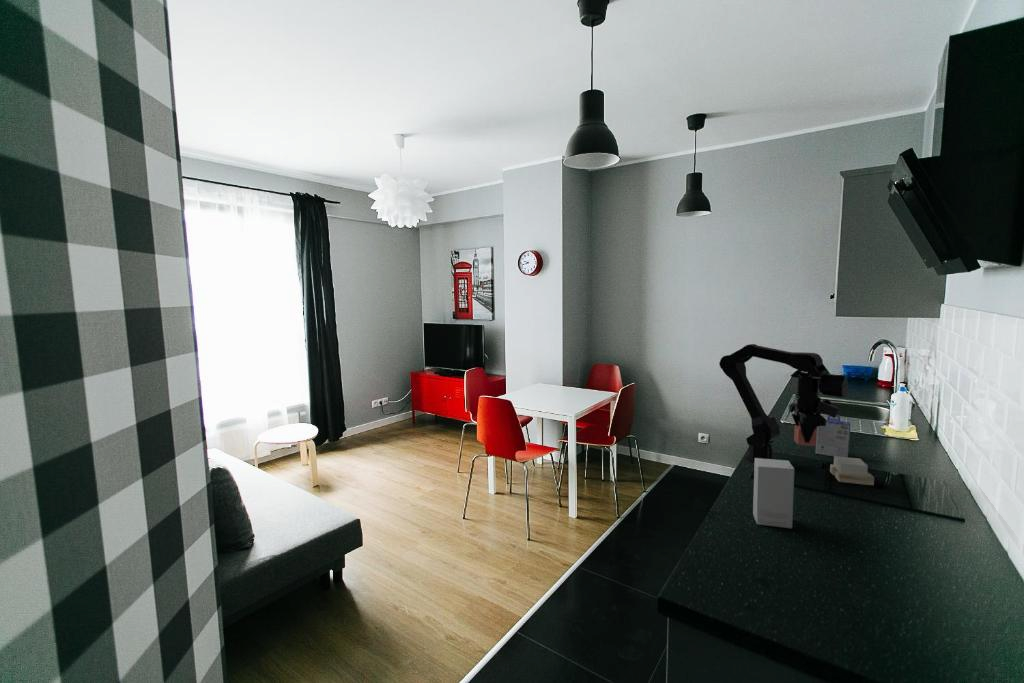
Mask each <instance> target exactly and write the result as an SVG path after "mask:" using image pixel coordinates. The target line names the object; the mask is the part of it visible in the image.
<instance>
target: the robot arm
mask: <svg viewBox="0 0 1024 683" xmlns="http://www.w3.org/2000/svg"><path fill="white" fill-rule="evenodd" d="M752 358H757V359H763V360H767V361H771V362H772V361H773V362H776V363H781V364H785V365H787V366H789V367H790V368H792V369H795V372H794V373H791V374H790V377H791V378H797V390H796V392H797V393H795V398H796V402H791V403H790V404H789V405H788V412H789V413H790V414H791V417H792V419H793V422H794V425H797V426H800V429H801V432H802V435H803V438H804V440H805V442H806V443H809V442H810V439H811V437H812V435H813V432H814V430H816V429H817V427H818V426H826V420H827V419H826V418H825V417H824V416H823V415H822V413H823V414H824V415H827V416H828V415H830V418H835V419H836V418H837V417H836V415H838V414H839V412H840V408H839V407H837V406H836V405H834V404H832V401H831V400H829V399H827V398H823V399H821V397H820V396H819V392H820V393H821V394H822V395H824V396H830V397H837V398H843V399H845V398H847V396H848V393H849V389H850V385H849V381H848V379H847V377H848V376H847V375H846V374H832V373H830V371H829V369H827V367H826V366H825V365H824V363H823V358H822V357H821V355H820V354H819V353H816V352H791V351H786V350H781V349H776V348H772V347H766V346H763V345H758V344H756V343H752V344H751V343H750V344H746V345H744V346H743V347H741V348H740V349H738V350H736V351H735V352H733V353H731V354H727V355H723V356H722V357H721V358H720V361H719V368H720V370H722V371H723V373H724V374H725V375H726V376H727V377H728V378H729V379H730V380H731V381H732V382H733V384H734V387H735V388H736V390H737V392H738V394H739V396H740V399H741V400H742V402H743V405H744V406H745V409H746V410H747V412H748V414H749V416H750V419H751V430H752V434H751V435H749V436H747V437H746V438H745V439H746V442H747V445H748V454H747V456H745V459H746V460H748V461H750V462H751V463H753V464H754V463H755V458H761V459H773V448H772V447H773V446H772V444H773V442H774V441H775V440H776V439H778V438H779V437H780V435H781V434H780V433H781V431H780V428H781V426H780V425H779V424H778V422H777V419H776V418H775V416H771V417H770V416H769V415H768V414H767V413H766V412H765V410H764V408H763V406H762V404H761V402H760V400H759V398H758V396H757V395H756V393H755V390H754V389H753V386H752V384H751V382H750V381H749V378H748V376H747V367H746V364H745V363H747V362H749V361H750V360H752Z"/></svg>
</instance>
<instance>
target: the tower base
mask: <svg viewBox="0 0 1024 683" xmlns="http://www.w3.org/2000/svg"><path fill="white" fill-rule="evenodd" d="M829 472H830V473H831V474H832V475H834V476H835V477H834V476H833V477H834V478H835V479H836V480H837V481H838V483H847V484H857V485H858V484H859V485H863V486H865V485H866V486H874V485H875V476H873V474H871V473H870V472H869V471H868V470H867V475H857V474H848V473H840V472H839V471H838V470H837V468H836V467H835V466H834V463H830V466H829Z"/></svg>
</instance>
